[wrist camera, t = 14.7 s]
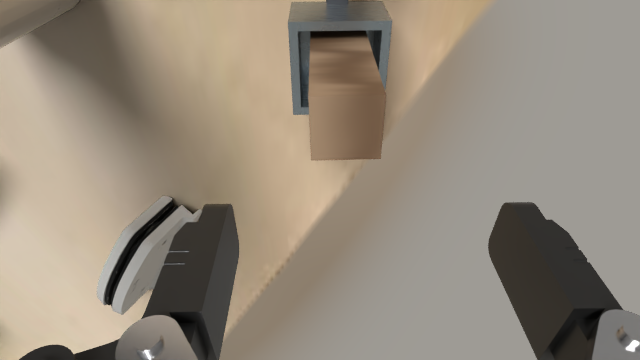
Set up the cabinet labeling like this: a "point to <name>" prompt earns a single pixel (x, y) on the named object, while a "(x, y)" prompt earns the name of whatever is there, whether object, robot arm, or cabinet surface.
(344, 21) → the cup bracket
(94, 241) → the cabinet surface
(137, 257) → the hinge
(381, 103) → the rail post
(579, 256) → the robot arm
